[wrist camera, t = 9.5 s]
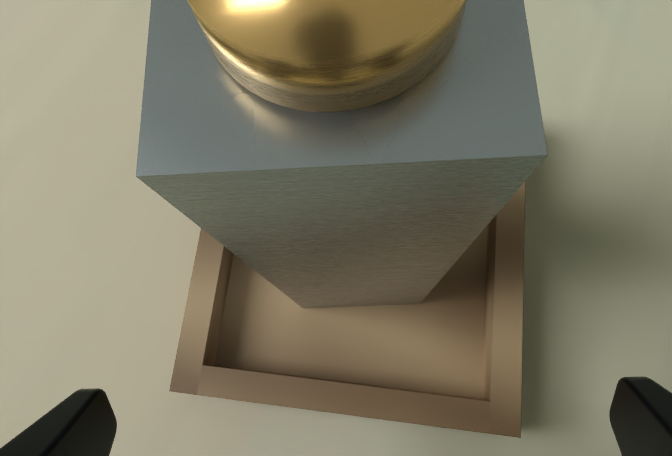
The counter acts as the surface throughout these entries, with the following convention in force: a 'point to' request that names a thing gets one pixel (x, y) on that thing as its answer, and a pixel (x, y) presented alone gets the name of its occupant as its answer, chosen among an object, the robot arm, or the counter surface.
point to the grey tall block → (340, 134)
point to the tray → (366, 340)
